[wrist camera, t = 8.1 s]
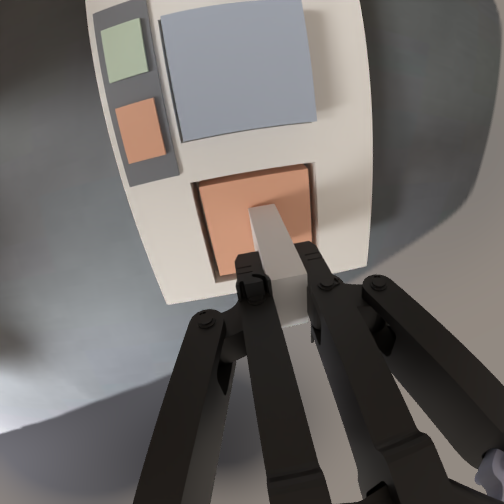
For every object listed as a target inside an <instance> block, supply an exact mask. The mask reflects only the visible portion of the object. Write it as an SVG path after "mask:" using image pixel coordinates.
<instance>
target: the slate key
mask: <svg viewBox="0 0 504 504" xmlns="http://www.w3.org/2000/svg"><path fill="white" fill-rule="evenodd" d="M160 18H161V24H162V30H163V36H164V42H165V48H166V54H167V60H168V65H169V71H170V76H171V82H172V87H173V92H174V97H175V103H176V108H177V113H178V118H179V122H180V127H181V132H182V137H183V142H185V141H190V140H194V139H199V138H204V137H209V136H214V135H219V134H225V133H231V132H236V131H242V130H249V129H255V128H262V127H270V126H277V125H286V124H294V123H304V122H315V121H317V114H316V104H315V94H314V84H313V76H312V67H311V59H310V52H309V45H308V38H307V31H306V25H305V18H304V12H303V7H302V1H301V0H258V1H245V2H235V3H227V4H219V5H213V6H206V7H201V8H195V9H190V10H185V11H180V12H176V13H171V14H167V15H163V16H160Z"/></svg>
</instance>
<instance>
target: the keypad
mask: <svg viewBox="0 0 504 504" xmlns="http://www.w3.org/2000/svg"><path fill="white" fill-rule="evenodd" d="M245 1H258V0H85V4H86V13H87V22H88V30H89V37H90V44H91V51H92V57H93V63H94V68H95V74H96V79H97V84H98V89H99V94H100V98H101V103H102V108H103V112H104V116H105V120H106V125H107V129H108V133H109V136H110V140H111V144H112V148H113V152H114V155H115V159H116V162H117V166H118V169H119V173H120V176H121V179H122V183H123V186H124V189H125V192H126V195H127V199H128V202H129V205H130V208H131V211H132V214H133V217H134V220H135V223H136V225H137V228H138V231H139V234H140V237H141V240H142V242H143V245H144V248H145V250H146V253H147V256H148V258H149V261H150V264H151V266H152V269H153V271H154V274H155V276H156V279H157V281H158V284H159V286H160V289H161V291H162V294H163V296H164V298H165V301H166V303H167V305H170V304H176V303H182V302H188V301H194V300H200V299H205V298H211V297H217V296H222V295H228V294H233V293H237V290H236V281H237V276H236V273H233V274H228V275H223V276H220V273H219V269H218V265H217V261H216V257H215V253H214V249H213V245H212V241H211V237H210V233H209V229H208V225H207V220H206V216H205V212H204V208H203V203H202V199H201V194H200V190H199V182H200V181H202V180H207V179H212V178H217V177H222V176H228V175H233V174H239V173H244V172H250V171H256V170H262V169H268V168H275V167H281V166H288V165H295V164H303V165H304V166H306V167H307V168H308V176H309V192H310V210H311V233H312V243H313V244H315V245H316V246H317V248H318V250H319V251H320V253H321V255H322V257H323V258H324V260H325V262H326V264H327V265H328V267H329V269H330V271H331V273H332V274H333V273H338V272H342V271H347V270H351V269H356V268H360V267H365V266H367V257H368V247H369V235H370V221H371V204H372V176H373V132H372V105H371V89H370V76H369V65H368V55H367V47H366V39H365V31H364V25H363V18H362V12H361V6H360V1H359V0H301V1H302V7H303V12H304V18H305V25H306V31H307V38H308V45H309V52H310V59H311V67H312V76H313V84H314V94H315V104H316V114H317V121H315V122H304V123H294V124H286V125H277V126H270V127H262V128H255V129H249V130H242V131H236V132H231V133H225V134H219V135H214V136H209V137H204V138H199V139H194V140H190V141H185V142H183V137H182V132H181V127H180V122H179V118H178V113H177V108H176V103H175V97H174V92H173V87H172V82H171V76H170V71H169V65H168V60H167V54H166V48H165V42H164V36H163V30H162V24H161V18H160V16H163V15H167V14H171V13H176V12H180V11H185V10H190V9H195V8H201V7H206V6H213V5H219V4H227V3H235V2H245Z"/></svg>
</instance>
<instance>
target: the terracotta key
mask: <svg viewBox="0 0 504 504" xmlns="http://www.w3.org/2000/svg"><path fill="white" fill-rule="evenodd" d="M199 190H200V194H201V199H202V203H203V208H204V212H205V216H206V220H207V225H208V229H209V233H210V237H211V241H212V245H213V249H214V253H215V257H216V261H217V265H218V269H219V273H220V276H223V275H228V274H233V273H236V269H235V262H234V261H235V259H236V257H237V255H238V254H244V253H249V252H255V249H254V242H253V236H252V230H251V224H250V217H249V211H248V208H252V207H257V206H263V205H269V204H275V206H276V208H277V210H278V212H279V214H280V216H281V218H282V220H283V223H284V225H285V227H286V229H287V231H288V233H289V235H290V237H291V239H292V241H293V244H294V243H299V242H305V241H310V242H312V233H311V210H310V192H309V176H308V168H307V167H306V166H304V165H303V164H295V165H288V166H281V167H275V168H268V169H262V170H256V171H250V172H244V173H239V174H233V175H228V176H222V177H217V178H212V179H207V180H202V181H200V182H199Z"/></svg>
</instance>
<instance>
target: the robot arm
mask: <svg viewBox="0 0 504 504" xmlns="http://www.w3.org/2000/svg"><path fill="white" fill-rule="evenodd" d="M248 211H249V217H250V224H251V230H252V236H253V242H254V249H255V252H249V253H244V254H238V255H237V257H236V259H235V261H234V262H235V269H236V276H237V281H236V290H237V295H238V299H239V300H238V302H237V303H236V305H235V306H234V307H232V308H231V309H229V310H227V311H225V312H223V313H220V312H219V311H217V310H213V309H207V310H202V311H200V312H198V313H196V314H195V315H194V316H193V317H192V319H191V320H190V322H189V325H188V328H187V331H186V334H185V337H184V340H183V343H182V345H181V348H180V351H179V354H178V357H177V360H176V363H175V366H174V369H173V372H172V375H171V378H170V381H169V384H168V388H167V391H166V394H165V397H164V400H163V403H162V406H161V410H160V413H159V416H158V419H157V422H156V426H155V429H154V432H153V435H152V439H151V442H150V445H149V448H148V453H147V455H146V459H145V462H144V465H143V469H142V472H141V476H140V479H139V483H138V486H137V490H136V494H135V497H134V501H133V504H210V502H211V496H212V491H213V486H214V480H215V475H216V469H217V464H218V458H219V453H220V448H221V442H222V437H223V431H224V426H225V420H226V415H227V410H228V405H229V399H230V394H231V388H232V382H233V377H234V372H235V366H236V360H238V359H240V358H242V357H244V356H246V355H247V359H248V365H249V372H250V378H251V385H252V391H253V398H254V403H255V410H256V416H257V422H258V428H259V434H260V440H261V446H262V452H263V458H264V464H265V469H266V476H267V488H268V495H269V501H270V504H332V503H331V499H330V495H329V491H328V487H327V484H326V480H325V477H324V475H323V472H322V470H321V468H320V466H319V463H318V460H317V457H316V452H315V449H314V445H313V441H312V437H311V434H310V430H309V426H308V423H307V419H306V415H305V412H304V407H303V404H302V400H301V397H300V393H299V389H298V385H297V382H296V378H295V374H294V371H293V367H292V363H291V360H290V356H289V352H288V349H287V345H286V342H285V338H284V334H283V330H282V328H285V327H290V326H295V325H299V324H304V323H308V316H309V318H310V321H311V343H313V342H314V340H315V343H316V346H317V349H318V352H319V354H320V357H321V360H322V363H323V366H324V369H325V372H326V374H327V377H328V380H329V383H330V386H331V389H332V392H333V395H334V398H335V401H336V404H337V407H338V410H339V413H340V416H341V419H342V422H343V425H344V428H345V431H346V434H347V437H348V440H349V443H350V446H351V450H352V453H353V456H354V459H355V462H356V466H357V469H358V482H359V487H360V491H361V494H362V498H363V500H362V501H359V502H354V503H342V504H504V386H503V385H502V384H501V383H500V381H499V380H498V379H497V378H496V377H495V376H494V375H493V374H492V373H491V372H490V371H489V370H488V369H487V368H486V367H485V366H484V365H483V364H482V363H481V362H480V361H479V360H478V359H477V358H476V357H475V356H474V355H473V354H472V353H471V352H470V351H469V350H468V349H467V348H466V347H465V346H464V345H463V344H462V343H461V342H460V341H459V340H458V339H457V338H456V337H454V336H453V335H452V334H451V333H450V332H449V331H448V330H447V329H446V328H445V327H444V326H443V325H442V324H441V323H439V322H438V321H437V320H436V319H435V318H434V317H433V316H432V315H431V314H430V313H429V312H427V311H426V310H425V309H424V308H423V307H422V306H421V305H420V304H419V303H417V302H416V301H415V300H414V299H413V298H412V297H411V296H409V295H408V294H407V293H406V292H405V291H404V290H403V289H401V288H400V287H399V286H398V285H397V284H396V283H394V282H393V281H392V280H391V279H389V278H388V277H386V276H383V275H371V276H368V277H367V278H365V279H364V281H363V285H356V284H345V283H343V281H342V280H341V279H340V278H339V277H337V276H335V275H333V274H332V273H331V271H330V269H329V267H328V265H327V264H326V262H325V260H324V258H323V257H322V255H321V253H320V251H319V250H318V248H317V246H316V245H315V244H313V243H312V242H310V241H305V242H299V243H294V244H293V241H292V239H291V237H290V235H289V233H288V231H287V229H286V227H285V225H284V223H283V220H282V218H281V216H280V214H279V212H278V210H277V208H276V206H275V204H269V205H263V206H257V207H252V208H248ZM391 373H392V374H393V375H394V376H395V378H396V379H397V380H398V381H399V382H400V383H401V385H402V386H403V387H404V388H405V389H406V390H407V392H408V393H409V394H410V395H411V396H412V398H413V399H414V400H415V401H416V402H417V404H418V405H419V406H420V407H421V408H422V410H423V411H424V412H425V413H426V414H427V416H428V417H429V418H430V419H431V421H432V422H433V423H434V424H435V425H436V427H437V428H438V429H439V430H440V432H441V433H442V434H443V435H444V436H445V438H446V439H447V440H448V441H449V443H450V444H451V445H452V446H453V448H454V449H455V450H456V451H457V452H458V453H459V454H460V456H461V457H462V458H463V459H464V460H465V461H467V462H468V463H469V464H470V465H471V466H473V467H475V468H476V469H478V472H477V473H476V476H475V482H476V484H478V485H482V486H483V487H484V489H485V490H486V492H487V495H485V494H483V493H481V492H478V491H476V490H474V489H471V488H469V487H467V486H464V485H462V484H460V483H458V482H456V481H454V480H452V479H449V478H448V477H447V475H446V472H445V469H444V467H443V464H442V462H441V460H440V457H439V455H438V452H437V450H436V448H435V445H434V443H433V442H432V440H431V438H430V437H429V436H428V435H427V434H425V433H422V432H420V431H419V430H418V429H417V427H416V425H415V423H414V421H413V418H412V416H411V414H410V412H409V410H408V407H407V405H406V403H405V401H404V399H403V397H402V394H401V392H400V390H399V388H398V386H397V384H396V382H395V380H394V378H393V376H392V374H391Z"/></svg>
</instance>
